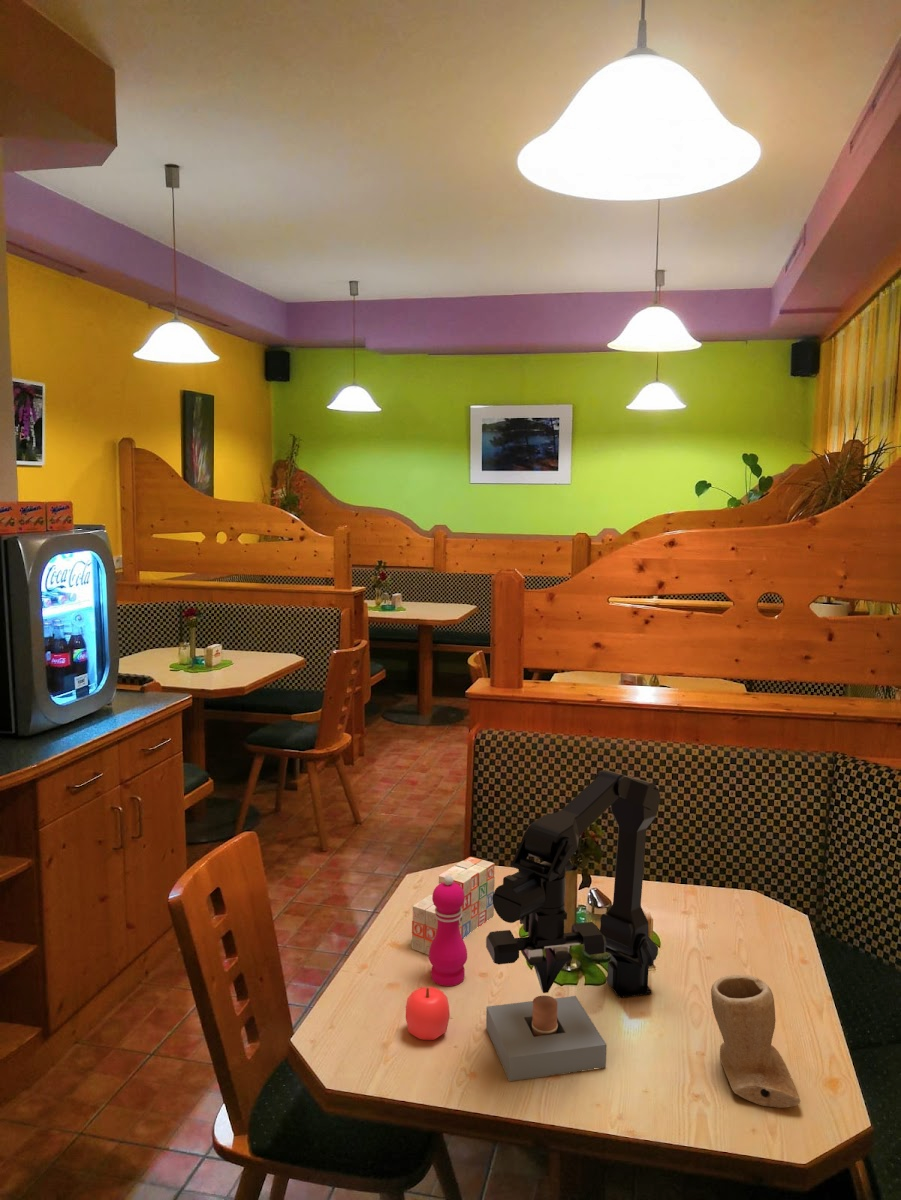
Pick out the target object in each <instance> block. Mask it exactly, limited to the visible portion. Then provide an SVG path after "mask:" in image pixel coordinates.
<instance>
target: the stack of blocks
mask: <svg viewBox="0 0 901 1200" xmlns="http://www.w3.org/2000/svg"><path fill="white" fill-rule="evenodd" d="M446 876H451V877H452V878H453V883H456V884H458V885H459V886H460V887H461V888H462V889H463V891H464V896H465V900H464V903H463V905H462V906H461V909H462V912H461V914H462V917H461V918H460V919H459V930H460V934H461V936H462V938H463V939H465V938H466V937H467V936H468V934H469V933H470V932H471V933H473V932H474V931H475V930H477V929H478V928H479V926H480V927H481V926H483V925H484V924H485V923H487V922H488V921H490V920H491V919H493V918H494V917H493V916H494V915H495V914H494V913H495V909H494V906H493V900H492V897H493V894H494V891H495V863H494V862H492V861H488V860H484V859H481V858H477V857H473V856H469V857H467V858H466V859H464V860H461V861H459V862H458V863H456V864H455V865H453V866H452V867H450V868H449V869H447V870H445V871H444V872H442V873H441V874H439V875H438V885H439V884H441V883H443V882H444V878H445V877H446ZM432 896H433V893H432V894H431V893H430V894H429V895H427V896H425V898H424V897H423V899H421V900H420V901H419V902H417V903H415V904H414V905H412V920H411V935H412V936H411V949H412V950H414V951H416V952H419V953H423V954H425V955H427V956H429V950H430V946H431V944H432V942H433V940H434V938H435V935H436V933H437V927H438V921H437V918H436V917H435V908H436V907H435V905H434V903H433V900H432ZM490 918H491V919H490ZM489 919H490V920H489ZM487 920H488V921H487ZM486 921H487V922H486ZM483 923H484V924H483ZM482 924H483V925H482ZM477 927H478V928H477ZM476 928H477V929H476ZM473 930H474V931H473ZM472 931H473V932H472ZM471 933H470V934H471ZM470 934H469V935H470ZM465 936H466V937H465ZM464 937H465V938H464Z"/></svg>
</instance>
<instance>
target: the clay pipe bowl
mask: <svg viewBox="0 0 901 1200" xmlns="http://www.w3.org/2000/svg"><path fill="white" fill-rule="evenodd" d="M710 995H711V1006H712V1007H711V1008H712V1012H713V1015H714V1018H715V1020H716V1023H717V1024H716V1025H717V1026H718V1029H719V1031H720V1034H721V1037H722V1040H723V1042H722V1043H721V1045H720V1047H719V1059H720V1062H721V1064H722V1068H723V1070H724V1073H725V1075H726V1078H727V1081H728V1082H729V1086H730V1087H731V1089H732V1091H733V1093H734V1094H736V1095H737V1096H738V1097H741V1098H743V1099H745V1100H747V1101H749V1102H751V1103H753V1104H756V1105H758V1106H759V1105H760V1106H761V1107H770V1108H789V1107H795V1106H798V1105H799V1104H801V1099H800V1094H799V1092H798V1090H797V1087H796V1085H795V1082H794V1080H793V1079H792V1077H791V1074H790V1071H789V1069H788V1066H787V1065H786V1062H785V1061H784V1059H783V1056H782V1055H781V1054H780V1052H779V1050H778V1049H777V1048H776V1047H775V1046H773V1045H772V1041H773V1037H774V1033H775V1028H776V1021H777V1020H776V1008H775V1006H776V1005H775V997H774V993H773V991H772V989H771V988H770V986H769V985H768V984H767V983H766V982H765V981H763V980H762V979H760V978H759V977H755V976H753V975H752V976H751V975H748V974H731V975H726V976H725V975H724V976H722V977H720V978H718V979H717V980H715V981H714V982H713V984H712V986H711V988H710Z"/></svg>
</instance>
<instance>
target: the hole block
mask: <svg viewBox="0 0 901 1200" xmlns="http://www.w3.org/2000/svg"><path fill="white" fill-rule="evenodd" d="M553 998H554V999H556V1001H557V1024H558V1027H557V1034H551V1035H544V1036H536V1037H534V1036H533V1034H532V1021H533V1000H530V1001H522V1002H520V1001H519V1002H514V1003H512V1002H511V1003H507V1004H506V1003H505V1004H497V1005H496V1004H495V1005H488V1006H486V1016H485V1017H486V1020H485V1021H486V1023H485V1024H486V1025H485V1026H486V1027H485V1028H486V1032H487V1034H488V1036H489V1038H490V1040H491V1043H492V1045H493V1048H494V1050H495V1052H496V1054H497V1056H498V1059H499V1062H500V1064H501V1066H502V1068H503V1070H504V1073H505V1075H506V1078H507V1080H508V1082H514V1081H523V1080H530V1079H537V1078H542V1077H543V1078H544V1076H545V1077H550V1076H549V1075H552V1076H556V1075H555V1074H559V1075H564V1074H563V1073H566V1074H570V1073H569V1072H573V1073H578V1072H577V1071H581V1072H583V1071H582V1070H588V1069H594V1068H602V1069H605V1068H604V1067H606V1068H607V1047H608V1046H607V1043H606V1042H605V1040H604V1038H603V1037H602V1035H601V1034H600V1032H599V1030H598V1029H597V1027H596V1026H595V1024H594V1022H593V1021H592V1019H591V1017H590V1015H588V1012H587V1011H586V1009H585V1008H584V1007H583V1005H582V1003H581V1002H580V1000H579V999H578V997H577V996H576V995H570V996H562V997H553ZM588 1071H589V1070H588Z"/></svg>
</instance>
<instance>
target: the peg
mask: <svg viewBox="0 0 901 1200" xmlns="http://www.w3.org/2000/svg"><path fill="white" fill-rule="evenodd" d="M554 998H555V997H552V996H549V995H537V996H536V997H534V998H533V999H532V1001H533V1021H532V1034H533V1036H534V1037H536V1036H544V1035H551V1034H557V1027H558V1024H557V1001H556V999H554Z"/></svg>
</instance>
